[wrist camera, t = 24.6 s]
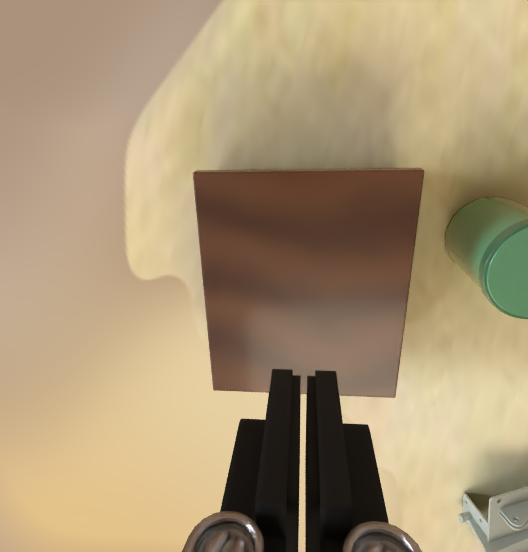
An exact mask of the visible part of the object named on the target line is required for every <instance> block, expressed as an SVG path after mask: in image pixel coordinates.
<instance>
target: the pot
mask: <svg viewBox="0 0 528 552" xmlns="http://www.w3.org/2000/svg"><path fill="white" fill-rule="evenodd" d="M445 245H446V250H447V252H448V254H449V256H450V258H451V259H452V260H453V262H455V263H456V264H457V265H458V266H459V267H460V268H461V269H462V270H463V271H464V272H465V273H466V274H467V275H468V276H469V277H470V278H471V279H472V280H473V281H474V282H475V283H476V284H477V285H478V286H479V287H480V288H481V290H482V292H483V294H484V295H485V297H486V298H487V299H488V301H489V302H490V303H491V304H492V305H493V306H495V307H496V308H497V309H498V310H500V311H501V312H503V313H505V314H507V315H509V316H512V317H515V318H520V319H528V207H525V206H523V205H520V204H518V203H516V202H513V201H511V200H508V199H505V198H501V197H485V198H481V199H477V200H475V201H473V202H470V203H469V204H467V205H465V206H464V207H463V208H461V209H460V210H459V211H458V212H457V213H456V214H455V216H454V217H453V218H452V220H451V221H450V223H449V225H448V228H447V231H446V236H445Z"/></svg>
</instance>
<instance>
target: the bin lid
mask: <svg viewBox="0 0 528 552" xmlns="http://www.w3.org/2000/svg"><path fill="white" fill-rule="evenodd" d="M423 176H424V170H423V169H421V168H366V169H284V170H202V171H195V172H193V180H194V190H195V201H196V211H197V222H198V233H199V243H200V254H201V264H202V275H203V286H204V296H205V307H206V318H207V328H208V339H209V349H210V359H211V371H212V381H213V390H221V391H244V392H268V393H269V390H270V382H271V374H272V369H292V370H293V375H301V383H300V394H307V376H315V370H321V371H336V373H337V381H338V390H339V395H341V396H366V397H390V398H395V395H396V387H397V379H398V372H399V364H400V356H401V348H402V340H403V332H404V325H405V317H406V309H407V301H408V293H409V286H410V278H411V270H412V262H413V254H414V247H415V239H416V231H417V223H418V215H419V207H420V200H421V192H422V184H423Z"/></svg>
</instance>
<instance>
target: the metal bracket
mask: <svg viewBox="0 0 528 552" xmlns="http://www.w3.org/2000/svg"><path fill="white" fill-rule="evenodd" d="M499 499H500V501H499V502H497V501H498V500H499ZM458 517H459V519H460V521H461V522H462V523H463V522H464V521H465V522H466V523H467V524H468V526H469V527H470V528H471V530H472V531H473V533H474V534H475V535H476V537H477V538H478V539H479V541H480V542H481V544H482V546H483V548H484V550H485V551H486V552H528V486H526V487H522V488H519V489H516V490H513V491H509V492H506V493H503V494H500V495H497V496H493V497H491V498H490V499H489V513H488V521H487V519H486V518H485V517H484V515H483V514H482V513H481V512H480V510H479V509H478V508H477V507H476V505H475V504H474V503H473V502H472V500H471V499H470V498H469V497H468V495H467V494H463V513H462V514H458Z"/></svg>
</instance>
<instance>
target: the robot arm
mask: <svg viewBox="0 0 528 552" xmlns="http://www.w3.org/2000/svg"><path fill="white" fill-rule="evenodd" d="M300 383H301V375H293V370H292V369H272V374H271V382H270V390H269V397H268V405H267V412H266V420H258V419H241V420H240V423H239V427H238V431H237V436H236V441H235V445H234V450H233V455H232V460H231V464H230V469H229V473H228V478H227V483H226V487H225V492H224V496H223V502H222V506H221V511H220V512H219V513H214V514H212V515H210V516H208V517H206V518H204V519H203V520H202V521H201V522H200V523H199V524H198V525H197V526H195V527H194V529H193V531H192V532H191V534H190V535H189V537H188V539H187V541H186V544H185V546H184V548H183V550H182V552H298V526H299V524H298V523H299V522H298V521H299V464H300ZM306 411H307V413H306V552H422V551H421V549H420V548H419V546H418V544H417V543H416V542H415V541H414V540H413V539H412V538H411V537H410V536H409V535H408V534H407V533H406V532H404V531H403V530H401V529H399V528H398V527H396V526H393V525H391V524H389V522H388V517H387V513H386V507H385V502H384V498H383V493H382V488H381V483H380V478H379V474H378V468H377V463H376V459H375V454H374V449H373V444H372V439H371V434H370V430H369V427H368V425H364V424H343V423H342V414H341V406H340V398H339V390H338V381H337V373H336V371H321V370H315V376H307V410H306Z"/></svg>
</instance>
